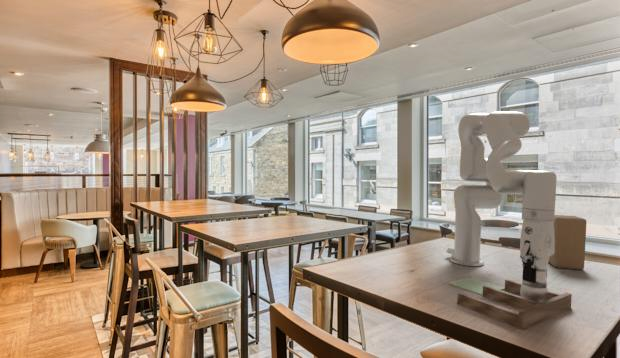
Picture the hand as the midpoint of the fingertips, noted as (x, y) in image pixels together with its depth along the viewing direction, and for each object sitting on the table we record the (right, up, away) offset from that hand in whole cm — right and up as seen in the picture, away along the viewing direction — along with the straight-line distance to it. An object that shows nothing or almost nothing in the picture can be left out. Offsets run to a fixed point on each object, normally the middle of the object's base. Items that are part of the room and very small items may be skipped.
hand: (534, 279), depth 94 cm
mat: (-9, -7, +14) cm, 18 cm away
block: (+40, -7, +42) cm, 58 cm away
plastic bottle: (0, -7, 0) cm, 7 cm away
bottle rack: (-7, -7, -1) cm, 10 cm away
